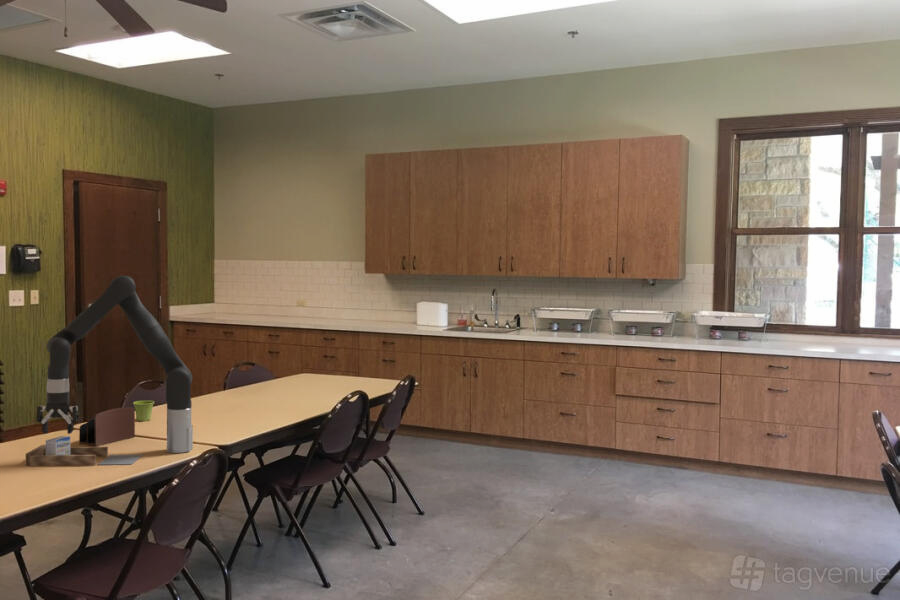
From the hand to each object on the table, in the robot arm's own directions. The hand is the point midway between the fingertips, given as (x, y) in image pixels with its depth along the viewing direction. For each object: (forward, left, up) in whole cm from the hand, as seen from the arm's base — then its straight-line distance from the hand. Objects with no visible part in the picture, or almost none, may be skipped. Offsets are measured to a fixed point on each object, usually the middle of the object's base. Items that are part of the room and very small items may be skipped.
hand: (57, 433), depth 277 cm
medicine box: (0, 0, -11) cm, 11 cm away
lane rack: (-4, 0, -10) cm, 11 cm away
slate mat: (-23, 0, -10) cm, 25 cm away
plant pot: (-10, -75, -11) cm, 76 cm away
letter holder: (-7, -33, -11) cm, 35 cm away
